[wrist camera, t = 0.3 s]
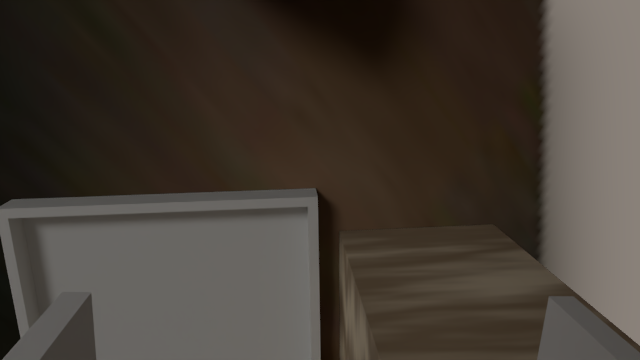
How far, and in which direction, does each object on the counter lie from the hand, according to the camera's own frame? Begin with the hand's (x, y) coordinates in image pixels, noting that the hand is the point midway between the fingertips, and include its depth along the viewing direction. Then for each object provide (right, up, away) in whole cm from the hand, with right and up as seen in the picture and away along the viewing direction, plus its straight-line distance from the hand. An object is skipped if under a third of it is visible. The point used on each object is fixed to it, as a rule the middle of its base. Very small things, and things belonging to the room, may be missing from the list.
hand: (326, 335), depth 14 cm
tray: (-13, -7, +30) cm, 34 cm away
